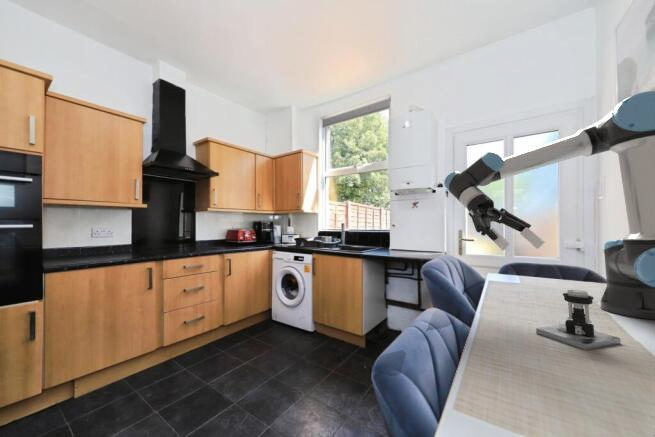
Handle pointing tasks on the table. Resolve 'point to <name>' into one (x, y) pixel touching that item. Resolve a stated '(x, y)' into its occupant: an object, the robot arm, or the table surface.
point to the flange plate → (578, 337)
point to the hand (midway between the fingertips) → (524, 246)
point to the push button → (578, 313)
